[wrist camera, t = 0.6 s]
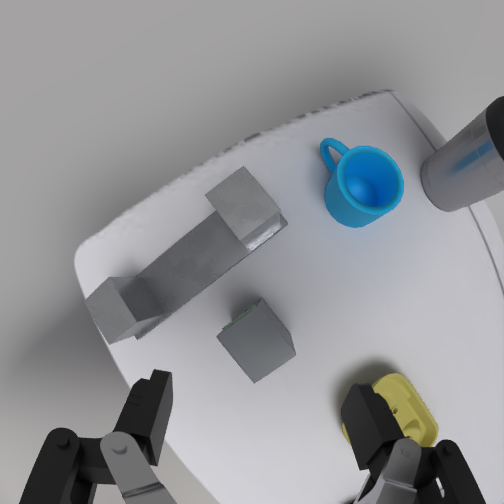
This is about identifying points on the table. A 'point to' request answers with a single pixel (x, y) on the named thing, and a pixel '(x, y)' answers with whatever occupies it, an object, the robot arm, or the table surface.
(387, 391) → the plastic component
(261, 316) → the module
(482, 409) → the table surface
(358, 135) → the table surface
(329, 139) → the mug
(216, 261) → the rail
